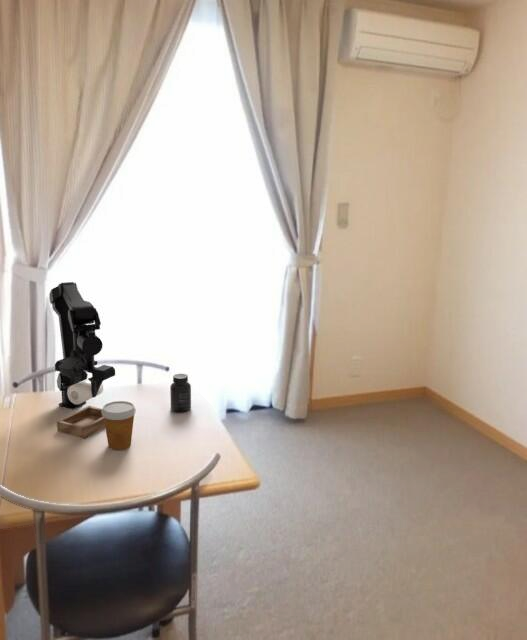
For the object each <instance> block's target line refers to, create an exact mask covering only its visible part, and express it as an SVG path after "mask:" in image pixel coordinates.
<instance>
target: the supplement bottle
mask: <svg viewBox="0 0 527 640" xmlns="http://www.w3.org/2000/svg"><path fill="white" fill-rule="evenodd" d="M172 379H173V380H172V383H171V384H170V388H169V389H170V392H169V394H170V395H169V396H170V410H171V411H172V412H174V413H177V414H183V413H188V412H189V411H191V409H192V384H190V382H188V381H189V376H188V374H185V373H176V374H174V375H173V377H172Z"/></svg>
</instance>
